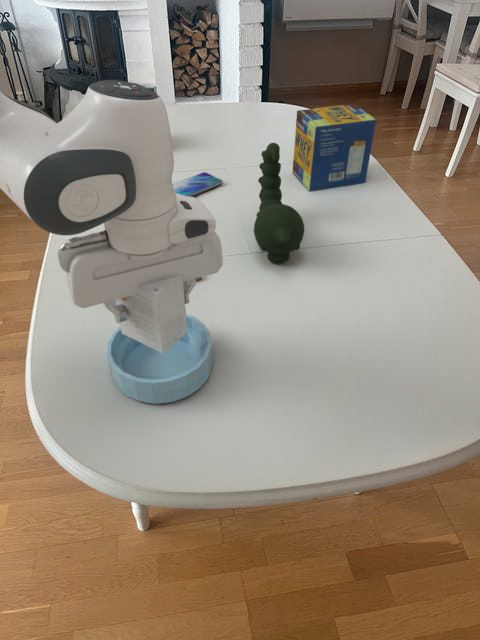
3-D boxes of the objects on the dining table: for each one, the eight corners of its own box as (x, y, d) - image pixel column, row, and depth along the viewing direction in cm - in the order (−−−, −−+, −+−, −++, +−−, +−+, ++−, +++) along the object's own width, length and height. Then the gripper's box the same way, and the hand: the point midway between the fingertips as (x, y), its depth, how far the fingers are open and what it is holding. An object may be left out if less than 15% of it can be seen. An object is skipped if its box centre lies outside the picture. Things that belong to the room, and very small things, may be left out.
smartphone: (154, 190, 121) (204, 171, 128) (155, 194, 121) (205, 174, 129) (173, 201, 117) (223, 180, 124) (173, 204, 117) (223, 184, 125)
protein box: (291, 173, 130) (295, 110, 119) (347, 164, 133) (356, 102, 123) (308, 192, 122) (314, 126, 112) (366, 182, 126) (378, 118, 116)
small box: (188, 333, 75) (184, 274, 68) (163, 355, 72) (157, 296, 65) (145, 313, 78) (138, 254, 72) (120, 333, 75) (109, 274, 68)
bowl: (129, 420, 72) (123, 396, 69) (101, 350, 83) (95, 327, 79) (228, 384, 77) (227, 361, 74) (190, 323, 88) (188, 300, 84)
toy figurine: (247, 222, 115) (257, 282, 95) (247, 135, 104) (259, 182, 84) (289, 220, 116) (308, 280, 96) (293, 134, 104) (316, 180, 84)
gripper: (59, 256, 57) (82, 346, 67) (227, 218, 64) (227, 304, 73) (49, 229, 62) (72, 317, 71) (207, 195, 69) (210, 280, 78)
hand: (152, 310), depth 72 cm, fingers closed on small box, 7 cm apart
